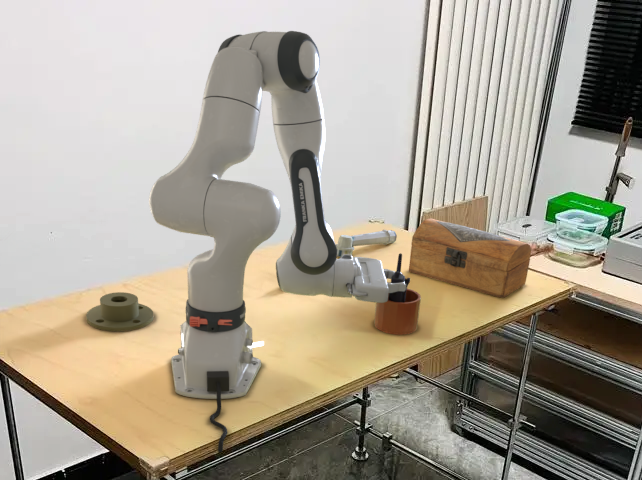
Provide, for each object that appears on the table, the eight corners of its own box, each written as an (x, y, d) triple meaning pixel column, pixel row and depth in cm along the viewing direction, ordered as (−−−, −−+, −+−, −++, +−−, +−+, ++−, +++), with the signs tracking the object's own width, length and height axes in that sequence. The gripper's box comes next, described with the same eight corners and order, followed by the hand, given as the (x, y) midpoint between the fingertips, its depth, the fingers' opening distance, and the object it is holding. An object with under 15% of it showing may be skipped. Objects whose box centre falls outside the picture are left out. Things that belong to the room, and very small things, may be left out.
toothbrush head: (399, 231, 249) (346, 235, 230) (395, 253, 251) (342, 258, 233) (386, 227, 251) (332, 230, 233) (382, 248, 254) (329, 253, 236)
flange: (113, 317, 176) (166, 299, 187) (71, 298, 184) (124, 282, 194) (115, 337, 178) (167, 318, 189) (73, 317, 186) (125, 300, 197)
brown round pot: (419, 335, 191) (423, 304, 187) (376, 333, 190) (379, 302, 186) (414, 318, 200) (417, 287, 196) (372, 316, 199) (375, 285, 195)
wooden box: (405, 272, 229) (410, 224, 222) (434, 258, 241) (439, 213, 234) (500, 301, 214) (509, 251, 208) (526, 285, 227) (535, 237, 220)
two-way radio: (389, 309, 196) (395, 250, 189) (407, 312, 196) (414, 253, 188) (385, 318, 191) (392, 257, 184) (404, 320, 191) (411, 260, 183)
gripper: (348, 281, 178) (410, 284, 179) (344, 251, 196) (400, 254, 197) (346, 308, 181) (407, 311, 182) (342, 276, 199) (397, 279, 200)
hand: (403, 281), depth 189 cm, fingers closed on two-way radio, 5 cm apart
